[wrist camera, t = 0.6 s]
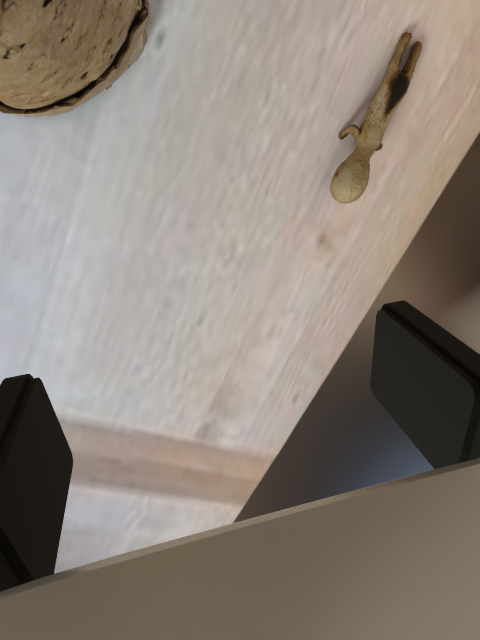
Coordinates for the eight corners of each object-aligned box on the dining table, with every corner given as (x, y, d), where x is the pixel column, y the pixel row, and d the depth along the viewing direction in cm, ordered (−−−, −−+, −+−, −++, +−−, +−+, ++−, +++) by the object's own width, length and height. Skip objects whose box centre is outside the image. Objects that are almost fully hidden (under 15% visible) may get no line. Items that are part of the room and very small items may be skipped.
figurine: (379, 37, 36) (311, 194, 38) (416, 16, 32) (337, 193, 34) (408, 61, 38) (340, 211, 40) (446, 43, 34) (369, 211, 35)
